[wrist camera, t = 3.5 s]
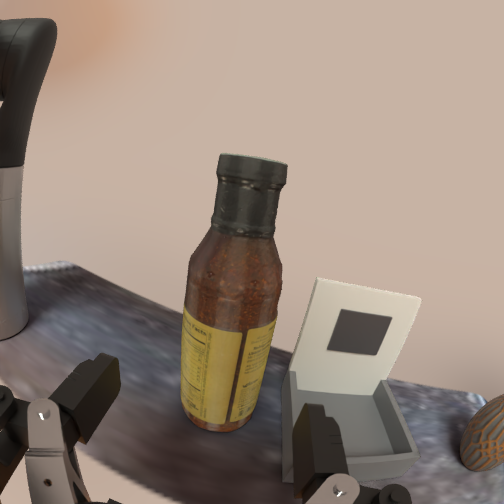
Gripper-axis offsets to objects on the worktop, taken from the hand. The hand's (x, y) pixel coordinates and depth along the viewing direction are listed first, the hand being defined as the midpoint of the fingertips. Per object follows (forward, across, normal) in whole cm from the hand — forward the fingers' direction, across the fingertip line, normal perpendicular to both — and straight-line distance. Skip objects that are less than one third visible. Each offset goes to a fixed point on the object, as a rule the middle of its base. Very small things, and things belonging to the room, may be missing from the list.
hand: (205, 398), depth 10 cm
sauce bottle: (+8, 0, +10) cm, 13 cm away
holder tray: (+8, -11, +10) cm, 17 cm away
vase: (+2, -26, +10) cm, 28 cm away
